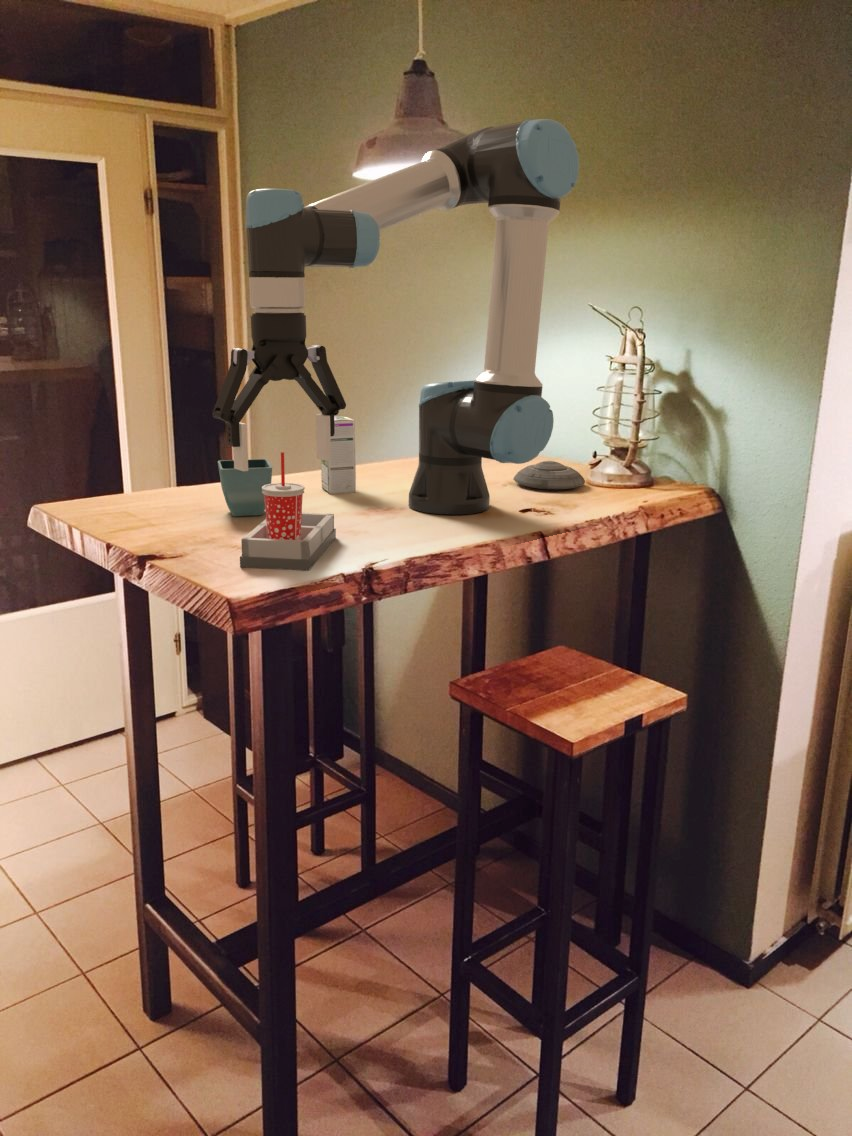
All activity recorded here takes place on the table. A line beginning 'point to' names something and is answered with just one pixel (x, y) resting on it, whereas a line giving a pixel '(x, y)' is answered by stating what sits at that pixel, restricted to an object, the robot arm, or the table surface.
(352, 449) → the syrup box
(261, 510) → the flower pot
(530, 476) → the flying saucer
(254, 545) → the divided tray
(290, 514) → the beverage cup
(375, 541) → the table surface
